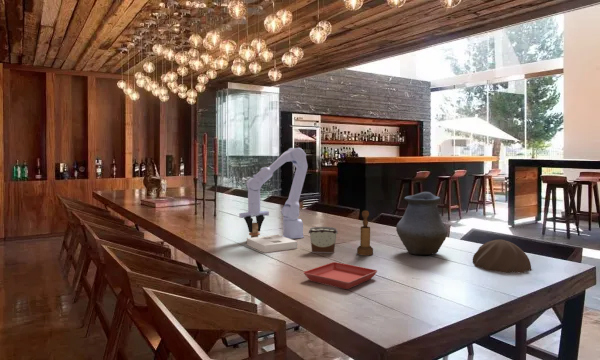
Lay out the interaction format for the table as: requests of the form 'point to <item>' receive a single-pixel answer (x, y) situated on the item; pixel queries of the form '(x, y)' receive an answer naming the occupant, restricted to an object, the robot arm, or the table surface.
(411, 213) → the grey ceramic jar
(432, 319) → the table surface
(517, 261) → the decorative dome
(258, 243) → the hole board
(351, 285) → the plant saucer
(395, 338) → the table surface
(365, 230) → the brown wooden tall figure
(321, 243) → the food container
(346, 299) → the table surface
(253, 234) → the oak peg
